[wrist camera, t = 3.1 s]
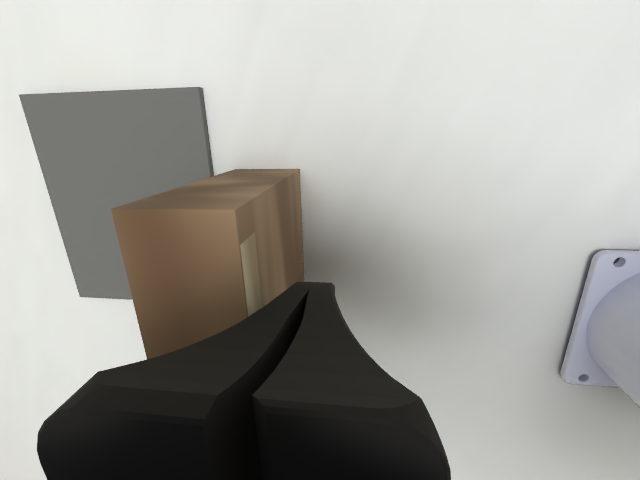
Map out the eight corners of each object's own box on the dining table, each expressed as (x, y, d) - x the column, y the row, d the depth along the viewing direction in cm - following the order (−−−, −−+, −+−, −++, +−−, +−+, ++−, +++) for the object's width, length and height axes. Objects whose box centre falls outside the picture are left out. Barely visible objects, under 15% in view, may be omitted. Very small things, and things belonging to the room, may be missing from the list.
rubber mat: (202, 88, 16) (198, 86, 15) (229, 300, 20) (227, 304, 19) (26, 95, 17) (18, 94, 17) (85, 294, 21) (80, 296, 21)
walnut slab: (299, 168, 17) (235, 210, 8) (305, 303, 19) (260, 440, 11) (235, 169, 17) (110, 208, 9) (249, 301, 20) (164, 430, 11)
